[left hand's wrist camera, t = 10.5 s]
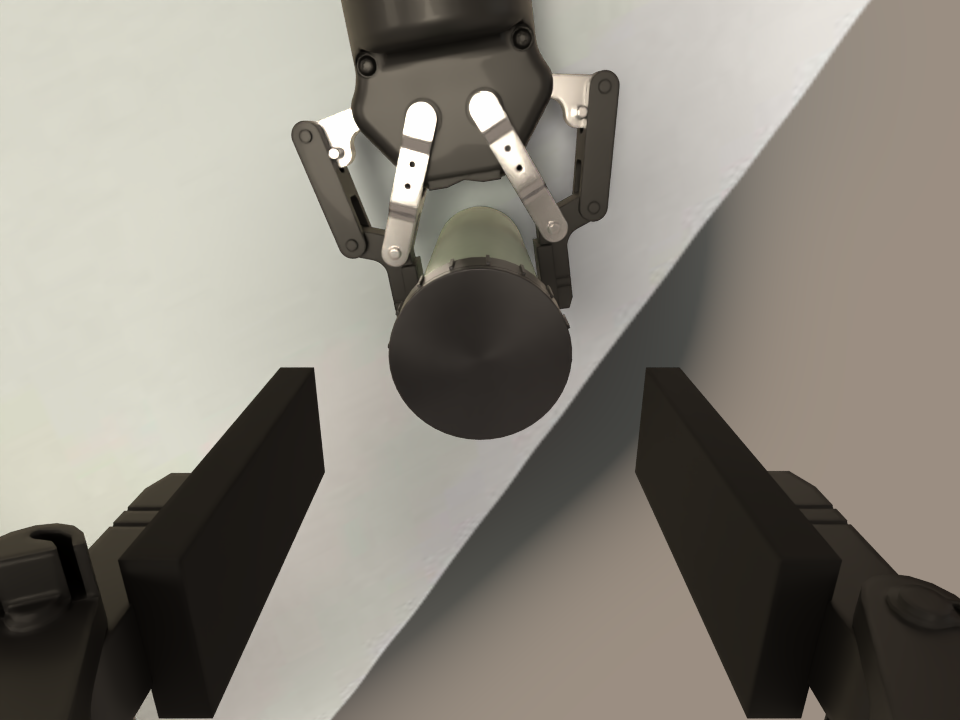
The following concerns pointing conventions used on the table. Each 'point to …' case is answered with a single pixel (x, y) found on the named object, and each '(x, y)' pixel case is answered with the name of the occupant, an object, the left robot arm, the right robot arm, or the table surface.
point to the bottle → (480, 239)
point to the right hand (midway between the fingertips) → (488, 325)
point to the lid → (480, 348)
